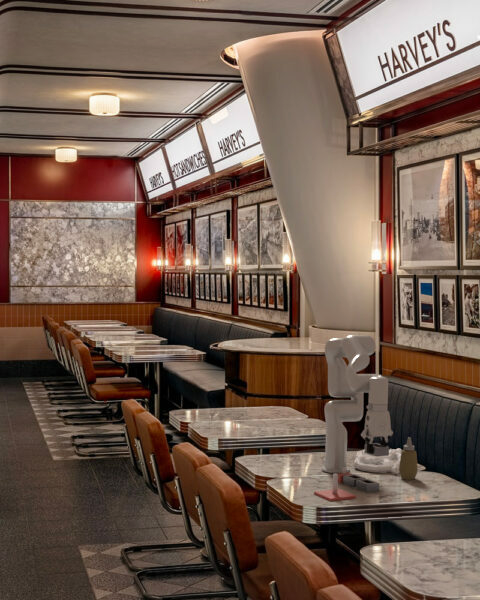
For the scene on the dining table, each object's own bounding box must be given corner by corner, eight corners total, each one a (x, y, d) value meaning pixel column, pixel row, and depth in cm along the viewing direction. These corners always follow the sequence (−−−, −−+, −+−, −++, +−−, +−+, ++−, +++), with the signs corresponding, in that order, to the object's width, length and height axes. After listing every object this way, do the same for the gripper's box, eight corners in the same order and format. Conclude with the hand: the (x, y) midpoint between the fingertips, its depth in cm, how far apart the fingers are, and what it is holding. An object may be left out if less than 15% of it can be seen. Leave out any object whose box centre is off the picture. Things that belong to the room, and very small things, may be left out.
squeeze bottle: (416, 477, 388) (417, 436, 387) (418, 481, 380) (419, 439, 379) (397, 476, 389) (399, 435, 388) (399, 480, 381) (400, 438, 380)
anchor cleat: (334, 480, 377) (335, 467, 376) (348, 479, 380) (348, 465, 380) (340, 483, 373) (340, 468, 373) (353, 481, 376) (354, 467, 376)
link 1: (343, 483, 372) (343, 475, 372) (354, 482, 375) (355, 474, 375) (354, 488, 365) (354, 479, 365) (366, 486, 368) (366, 478, 368)
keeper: (313, 494, 353) (314, 471, 353) (338, 491, 359) (339, 469, 359) (330, 501, 343) (331, 478, 342) (356, 498, 348) (356, 475, 348)
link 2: (355, 488, 364) (355, 480, 364) (367, 487, 367) (367, 478, 367) (367, 493, 357) (367, 484, 357) (379, 491, 360) (379, 483, 360)
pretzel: (405, 479, 390) (405, 465, 389) (351, 476, 395) (351, 463, 394) (408, 458, 417) (408, 445, 416) (358, 456, 422) (358, 443, 421)
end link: (364, 452, 355) (364, 444, 355) (376, 451, 358) (376, 443, 358) (376, 456, 348) (377, 447, 348) (388, 455, 351) (389, 446, 351)
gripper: (366, 410, 345) (364, 456, 346) (400, 408, 353) (399, 452, 354) (354, 407, 352) (353, 452, 352) (389, 405, 360) (387, 449, 361)
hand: (376, 452), depth 353 cm, fingers closed on end link, 6 cm apart
